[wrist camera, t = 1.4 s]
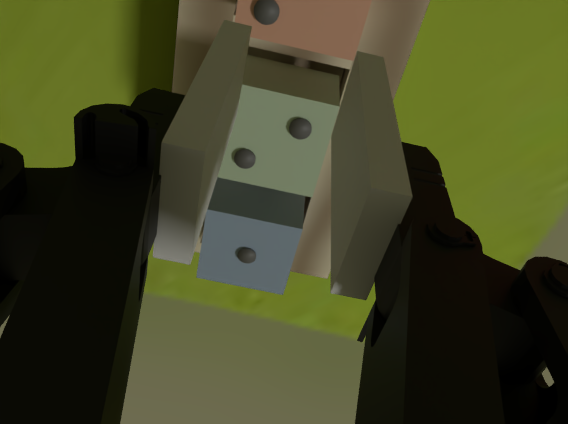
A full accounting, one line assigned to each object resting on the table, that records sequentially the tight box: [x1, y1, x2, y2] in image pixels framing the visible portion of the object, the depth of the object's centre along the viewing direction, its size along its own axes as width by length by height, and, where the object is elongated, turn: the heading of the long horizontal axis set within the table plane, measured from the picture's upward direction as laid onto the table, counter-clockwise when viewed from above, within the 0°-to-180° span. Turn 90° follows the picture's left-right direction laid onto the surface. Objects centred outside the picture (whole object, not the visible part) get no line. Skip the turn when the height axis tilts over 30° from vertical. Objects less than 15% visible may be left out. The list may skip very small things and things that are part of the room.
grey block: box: [197, 177, 305, 295], centre depth 35 cm, size 6×6×4 cm
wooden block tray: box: [172, 0, 430, 279], centre depth 33 cm, size 13×26×4 cm, turn 168°
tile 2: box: [218, 54, 340, 197], centre depth 30 cm, size 6×6×4 cm
